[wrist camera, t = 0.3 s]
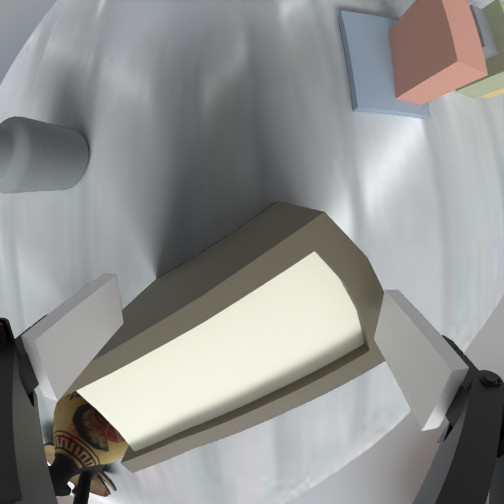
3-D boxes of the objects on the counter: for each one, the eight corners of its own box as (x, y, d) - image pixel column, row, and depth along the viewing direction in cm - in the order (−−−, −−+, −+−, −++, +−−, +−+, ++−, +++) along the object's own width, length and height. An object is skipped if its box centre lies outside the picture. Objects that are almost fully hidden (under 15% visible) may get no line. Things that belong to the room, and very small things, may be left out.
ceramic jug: (69, 364, 47) (-19, 460, 17) (125, 347, 45) (29, 474, 16) (115, 428, 50) (59, 532, 20) (173, 419, 48) (128, 551, 19)
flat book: (337, 16, 34) (341, 10, 32) (404, 27, 33) (409, 22, 31) (352, 111, 37) (357, 107, 35) (423, 118, 37) (430, 116, 35)
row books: (445, 34, 33) (497, -3, 16) (476, 48, 33) (530, 20, 16) (456, 91, 35) (520, 64, 19) (487, 103, 35) (550, 86, 18)
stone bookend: (433, 34, 33) (472, 4, 20) (447, 39, 33) (486, 12, 20) (440, 71, 35) (485, 46, 22) (454, 76, 35) (499, 53, 22)
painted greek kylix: (134, 473, 53) (126, 495, 46) (96, 495, 58) (88, 511, 51) (60, 420, 51) (46, 439, 43) (38, 453, 56) (28, 468, 48)
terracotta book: (388, 31, 32) (434, -21, 16) (413, 38, 32) (464, -7, 16) (395, 98, 34) (457, 61, 19) (421, 105, 34) (488, 75, 19)
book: (281, 198, 41) (341, 203, 13) (315, 255, 42) (412, 350, 14) (156, 279, 43) (45, 385, 15) (191, 329, 44) (132, 472, 17)
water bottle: (54, 201, 41) (-86, 223, 13) (39, 151, 39) (-92, 143, 11) (98, 171, 40) (-55, 167, 12) (82, 119, 38) (-56, 79, 10)
